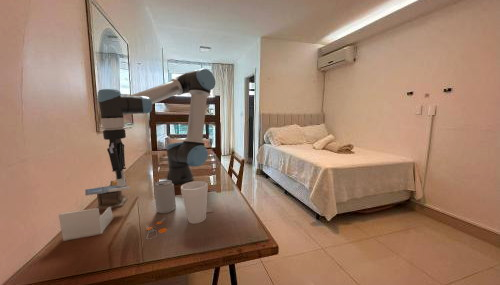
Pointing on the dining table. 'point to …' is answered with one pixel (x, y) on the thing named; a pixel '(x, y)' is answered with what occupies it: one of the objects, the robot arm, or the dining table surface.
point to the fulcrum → (110, 200)
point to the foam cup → (195, 200)
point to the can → (164, 196)
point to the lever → (105, 189)
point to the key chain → (156, 230)
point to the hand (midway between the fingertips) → (121, 185)
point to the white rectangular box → (84, 223)
